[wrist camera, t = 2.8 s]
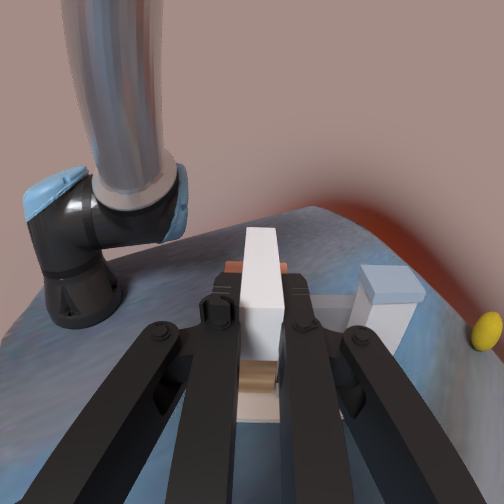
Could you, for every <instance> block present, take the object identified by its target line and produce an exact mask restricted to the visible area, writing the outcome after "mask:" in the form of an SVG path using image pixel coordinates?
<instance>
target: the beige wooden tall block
mask: <svg viewBox="0 0 504 504" xmlns="http://www.w3.org/2000/svg"><path fill="white" fill-rule="evenodd" d="M280 271H281V273H288V271H287V264H286V263H280ZM224 272H232V273H242V272H243V261H226V264H225V269H224ZM276 368H277V361H261V360H240V375H239V391H238V392H247V393H273V388H274V381H275V375H276Z"/></svg>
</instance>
